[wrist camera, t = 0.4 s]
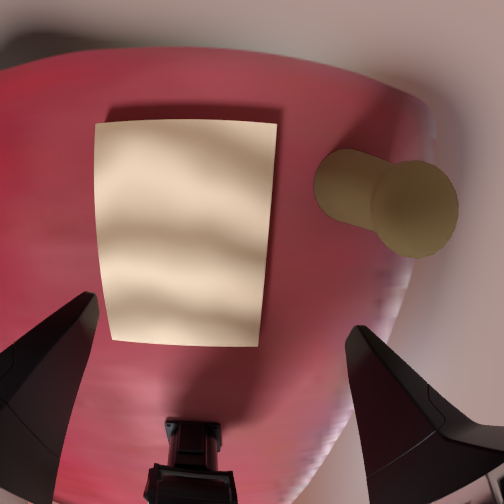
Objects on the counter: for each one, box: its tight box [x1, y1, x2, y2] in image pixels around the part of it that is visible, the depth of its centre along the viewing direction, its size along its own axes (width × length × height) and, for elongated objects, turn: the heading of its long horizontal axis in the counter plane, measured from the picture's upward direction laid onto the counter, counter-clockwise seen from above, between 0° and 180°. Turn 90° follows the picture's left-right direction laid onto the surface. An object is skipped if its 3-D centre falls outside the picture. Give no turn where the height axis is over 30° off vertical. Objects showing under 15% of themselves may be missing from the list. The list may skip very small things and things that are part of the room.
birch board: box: [94, 119, 277, 347], centre depth 22 cm, size 18×13×2 cm
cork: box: [314, 148, 458, 259], centre depth 17 cm, size 6×6×11 cm
